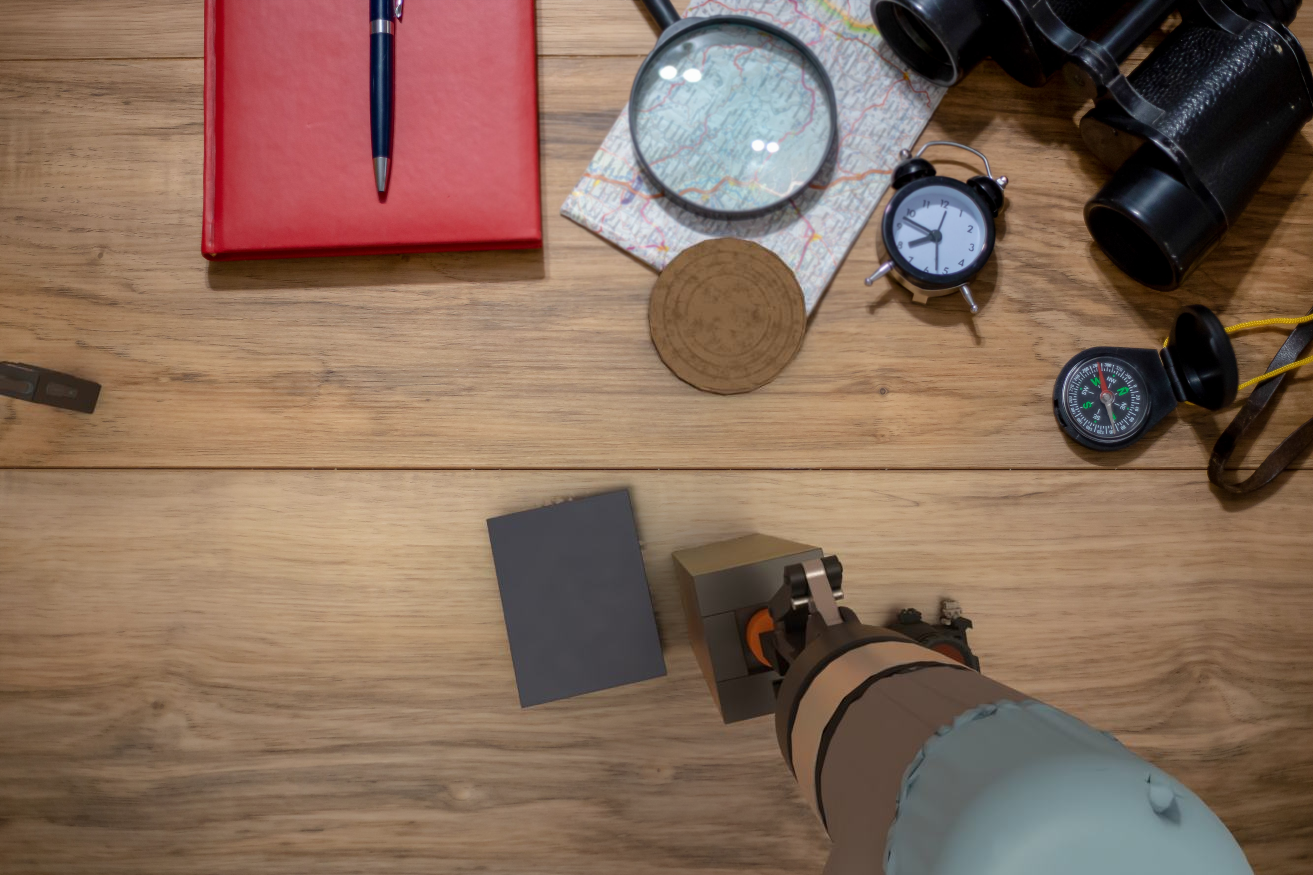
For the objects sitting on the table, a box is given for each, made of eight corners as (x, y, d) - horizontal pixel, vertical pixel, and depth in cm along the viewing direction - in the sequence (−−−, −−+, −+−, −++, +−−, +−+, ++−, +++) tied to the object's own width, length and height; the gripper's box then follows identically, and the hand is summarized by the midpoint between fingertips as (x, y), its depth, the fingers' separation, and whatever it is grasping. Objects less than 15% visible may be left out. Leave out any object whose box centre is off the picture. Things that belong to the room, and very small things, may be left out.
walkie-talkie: (111, 384, 88) (-40, 349, 68) (101, 416, 88) (-54, 390, 68) (65, 372, 88) (-100, 334, 68) (55, 404, 88) (-114, 375, 68)
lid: (667, 674, 77) (667, 675, 76) (522, 707, 77) (521, 708, 76) (627, 489, 80) (627, 488, 79) (487, 519, 79) (485, 519, 79)
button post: (779, 629, 88) (855, 694, 58) (692, 649, 88) (724, 724, 58) (757, 532, 89) (822, 547, 59) (671, 551, 89) (692, 576, 59)
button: (804, 654, 59) (811, 661, 57) (752, 666, 59) (757, 673, 57) (792, 602, 59) (799, 606, 57) (740, 613, 59) (745, 618, 57)
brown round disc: (645, 394, 90) (646, 390, 87) (650, 242, 91) (651, 233, 88) (799, 399, 90) (805, 396, 87) (802, 248, 91) (808, 240, 88)
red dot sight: (1023, 706, 75) (908, 723, 74) (962, 675, 89) (865, 689, 88) (1008, 611, 75) (894, 627, 75) (949, 594, 89) (853, 608, 89)
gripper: (1028, 893, 32) (860, 728, 56) (946, 546, 33) (815, 527, 57) (831, 941, 32) (746, 754, 55) (753, 589, 33) (702, 552, 56)
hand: (781, 640), depth 56 cm, fingers closed
